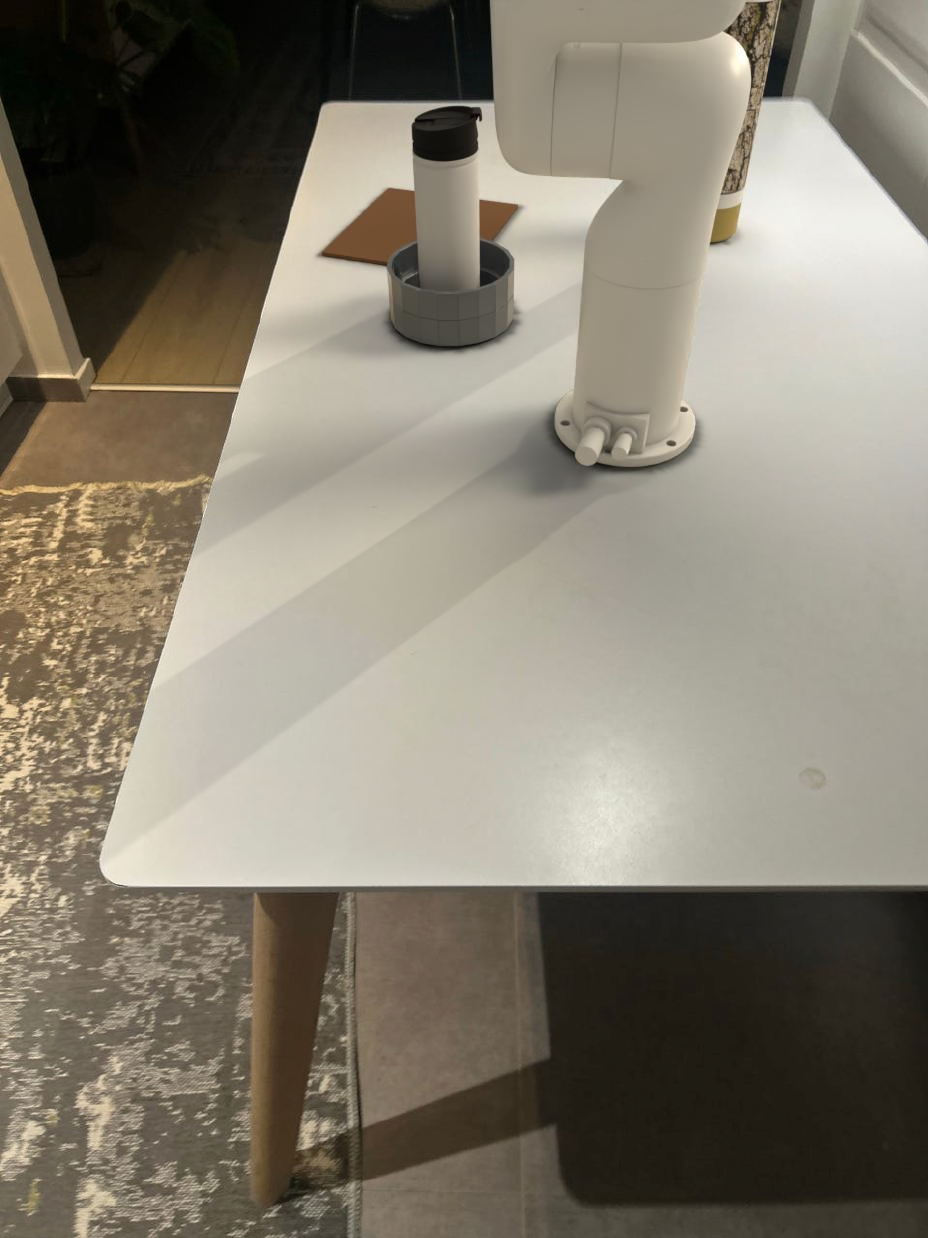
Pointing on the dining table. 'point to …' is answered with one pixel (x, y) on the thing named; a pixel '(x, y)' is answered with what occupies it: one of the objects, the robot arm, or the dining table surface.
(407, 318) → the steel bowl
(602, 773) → the dining table surface
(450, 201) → the travel mug
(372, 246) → the cork mat
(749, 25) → the paper tube
